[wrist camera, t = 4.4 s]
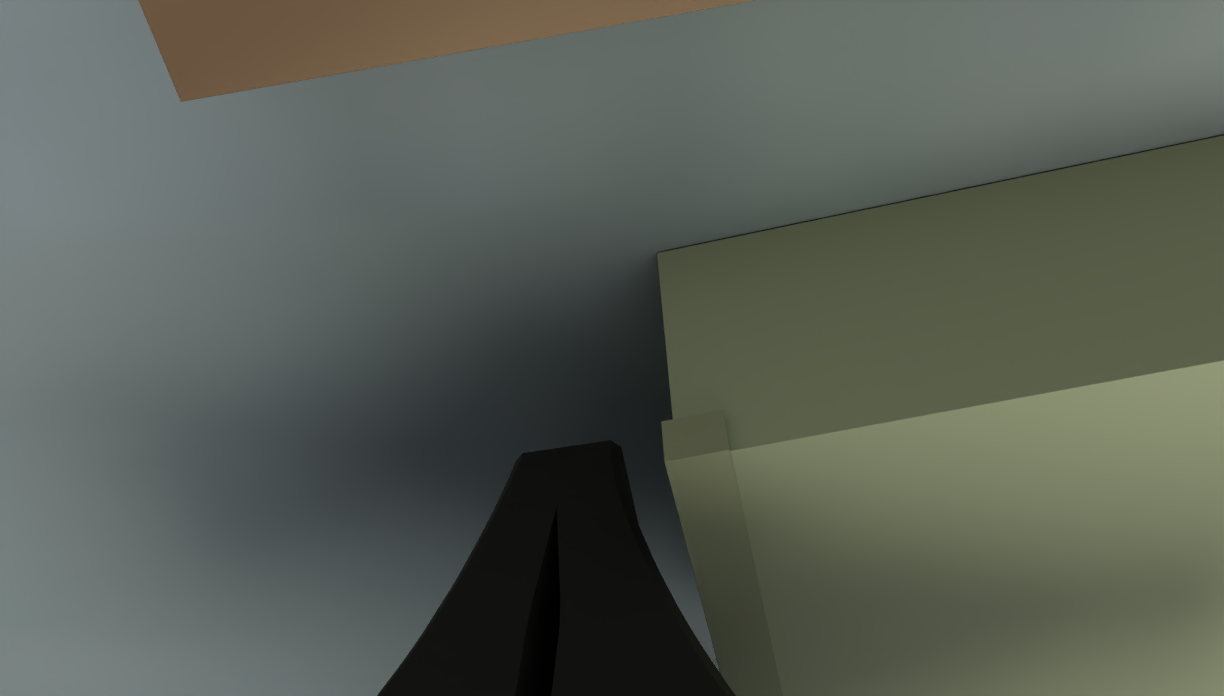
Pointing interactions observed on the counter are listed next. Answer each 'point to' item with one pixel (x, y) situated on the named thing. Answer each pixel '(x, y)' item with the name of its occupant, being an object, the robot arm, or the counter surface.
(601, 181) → the counter surface
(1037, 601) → the box
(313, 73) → the bay
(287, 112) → the counter surface
